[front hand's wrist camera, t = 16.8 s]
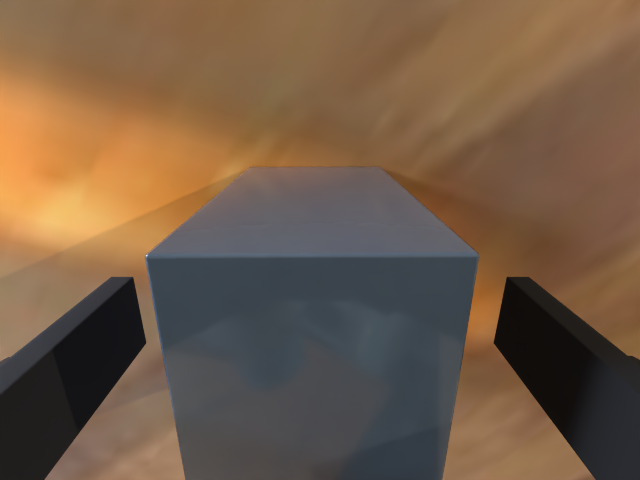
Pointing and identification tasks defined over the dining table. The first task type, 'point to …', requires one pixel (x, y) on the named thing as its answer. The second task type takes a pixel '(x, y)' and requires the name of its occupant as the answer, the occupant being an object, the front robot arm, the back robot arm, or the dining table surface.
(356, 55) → the dining table surface
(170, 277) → the block
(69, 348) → the front robot arm
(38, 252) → the dining table surface
